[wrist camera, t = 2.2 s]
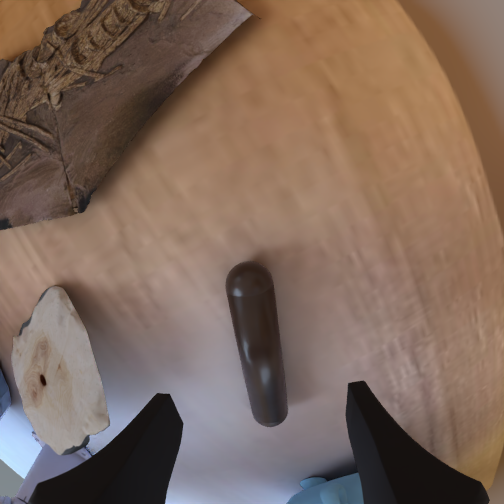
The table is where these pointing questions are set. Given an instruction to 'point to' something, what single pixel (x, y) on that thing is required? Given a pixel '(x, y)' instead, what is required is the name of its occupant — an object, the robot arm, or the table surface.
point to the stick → (258, 340)
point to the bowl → (4, 396)
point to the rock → (59, 375)
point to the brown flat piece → (94, 95)
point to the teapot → (330, 491)
